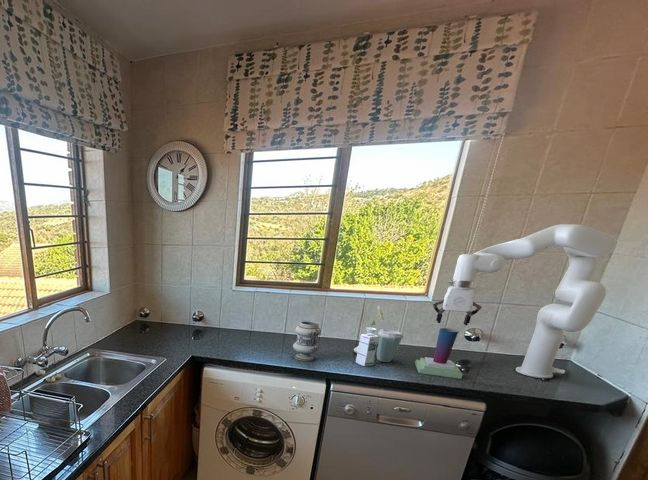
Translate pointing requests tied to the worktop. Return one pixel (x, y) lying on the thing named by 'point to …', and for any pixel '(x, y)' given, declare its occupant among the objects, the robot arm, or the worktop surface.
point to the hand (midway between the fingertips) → (451, 323)
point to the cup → (444, 344)
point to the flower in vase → (370, 329)
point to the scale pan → (431, 363)
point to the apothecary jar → (306, 340)
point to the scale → (437, 370)
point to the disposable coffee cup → (388, 344)
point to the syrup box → (367, 349)
